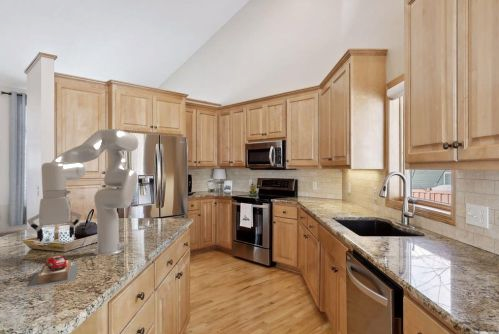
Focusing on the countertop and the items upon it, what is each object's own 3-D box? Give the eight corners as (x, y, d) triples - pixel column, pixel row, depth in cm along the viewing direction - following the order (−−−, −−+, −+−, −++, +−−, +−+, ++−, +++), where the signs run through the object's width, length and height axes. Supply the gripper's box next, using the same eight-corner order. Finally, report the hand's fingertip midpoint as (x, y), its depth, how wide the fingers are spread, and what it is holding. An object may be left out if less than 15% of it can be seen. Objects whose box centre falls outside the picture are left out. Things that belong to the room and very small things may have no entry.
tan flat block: (70, 267, 118) (70, 259, 118) (67, 279, 105) (67, 270, 105) (44, 271, 114) (44, 263, 114) (37, 284, 101) (37, 275, 101)
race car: (44, 264, 113) (43, 254, 113) (60, 261, 117) (60, 251, 117) (51, 272, 103) (50, 261, 103) (68, 268, 107) (68, 258, 107)
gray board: (78, 266, 121) (78, 264, 121) (75, 282, 105) (75, 280, 105) (37, 272, 115) (37, 270, 115) (27, 290, 98) (27, 288, 98)
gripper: (81, 191, 117) (82, 233, 118) (28, 195, 109) (30, 239, 110) (80, 193, 111) (81, 237, 111) (24, 197, 102) (26, 244, 103)
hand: (56, 238), depth 110 cm, fingers open, 9 cm apart
